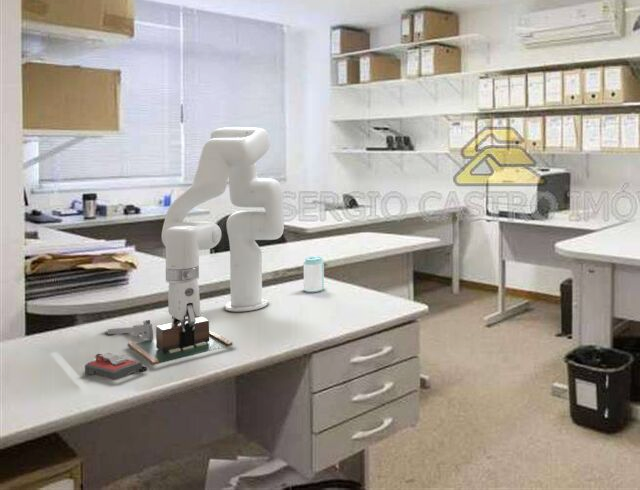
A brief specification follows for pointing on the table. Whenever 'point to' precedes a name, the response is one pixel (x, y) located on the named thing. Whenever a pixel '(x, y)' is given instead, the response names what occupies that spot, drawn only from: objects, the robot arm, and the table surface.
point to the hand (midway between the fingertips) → (183, 343)
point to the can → (313, 274)
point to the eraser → (171, 334)
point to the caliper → (135, 330)
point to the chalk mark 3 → (200, 344)
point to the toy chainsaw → (113, 366)
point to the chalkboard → (157, 356)
